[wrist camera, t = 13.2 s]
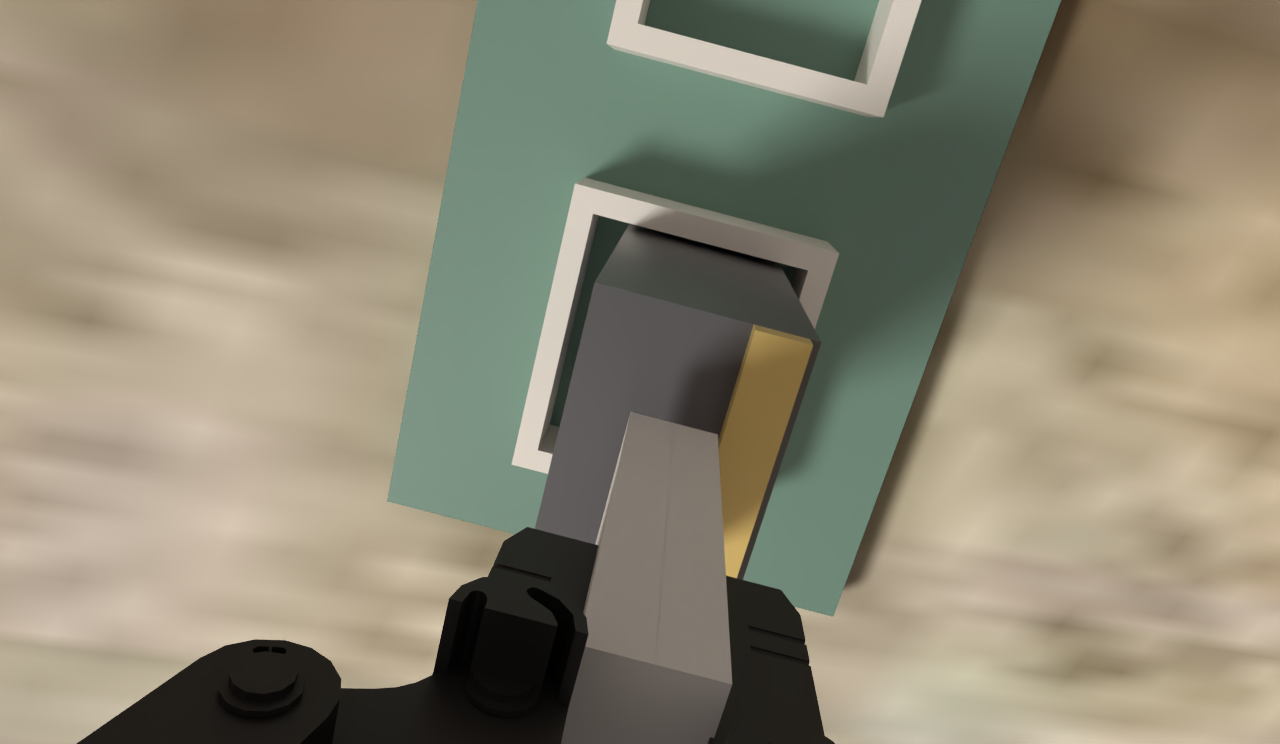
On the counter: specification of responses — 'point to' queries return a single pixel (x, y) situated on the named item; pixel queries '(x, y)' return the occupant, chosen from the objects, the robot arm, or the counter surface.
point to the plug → (683, 377)
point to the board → (709, 226)
